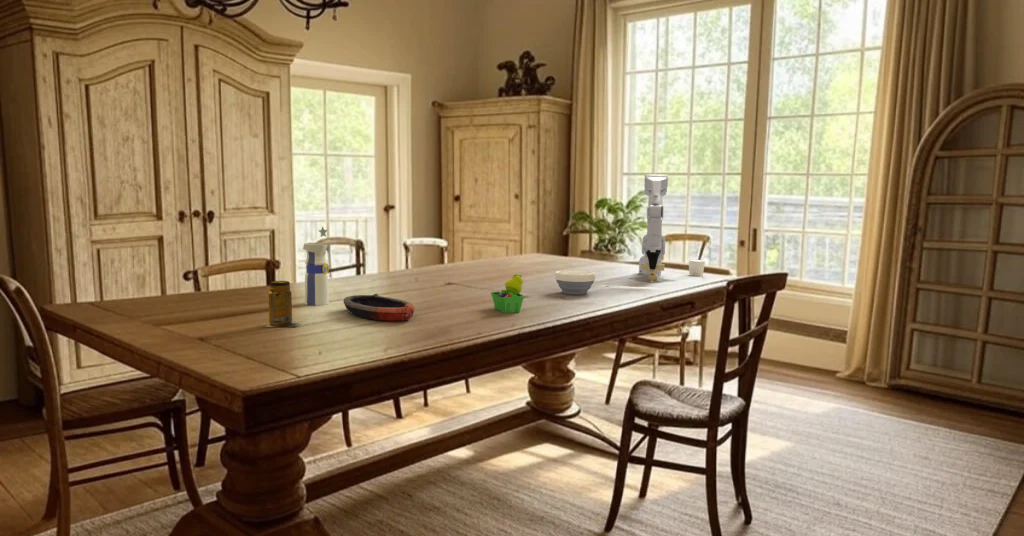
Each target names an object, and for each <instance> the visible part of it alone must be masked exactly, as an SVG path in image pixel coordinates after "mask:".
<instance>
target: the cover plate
mask: <svg viewBox="0 0 1024 536" xmlns="http://www.w3.org/2000/svg"><path fill="white" fill-rule="evenodd" d="M628 280H633V281H638V282H644V283H649V284H657V283H670V282H677V280H676V279H675V280H674V279H669V278H665V277H659V276H658V280H657V281H656V280H647V276H643V277H632V278H628Z"/></svg>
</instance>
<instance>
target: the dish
mask: <svg viewBox="0 0 1024 536" xmlns="http://www.w3.org/2000/svg"><path fill="white" fill-rule="evenodd" d="M343 304H344V306H345V308H346V311H348V312H349V313H350V314H351V315H354V316H356V317H359V318H363V319H368V320H371V321H372V320H374V321H380V322H381V321H382V322H401V321H408V320H411V319H412V317H413V315H414V313H415V309H416V307H415V305H414V304H413V303H412V302H410V301H406V300H402V299H398V298H393V297H388V296H384V295H383V296H381V295H379V294H378V293H373V294H371V295H369V294H368V295H367V294H359V295H358V294H357V295H349V296H346V297H344V298H343Z"/></svg>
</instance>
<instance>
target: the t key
mask: <svg viewBox="0 0 1024 536" xmlns="http://www.w3.org/2000/svg"><path fill="white" fill-rule="evenodd" d="M641 270H651V273H650V274H648V275H646V277H647V280H656V281H657V280H658V277H659V275H658V274H655V270H658V271H661V272H664V271H665V264H663V263H661V264H656V268H655V270H652V269H650V268H649V264H647V263H642V269H641Z"/></svg>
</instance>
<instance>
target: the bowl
mask: <svg viewBox="0 0 1024 536" xmlns="http://www.w3.org/2000/svg"><path fill="white" fill-rule="evenodd" d="M554 279H555V281H556V283H557V285H558V287H559V289H560V290H561V292H562V293H563V294H564V295H569V296H570V295H571V296H583V295H586V294H587V293H588V291H589V290H590V289H591V288H592V285H593V284H594V282H595V280H596V273H595V272H594V271H591V270H590V271H589V270H578V269H563V270H556V271H555V273H554Z"/></svg>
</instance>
